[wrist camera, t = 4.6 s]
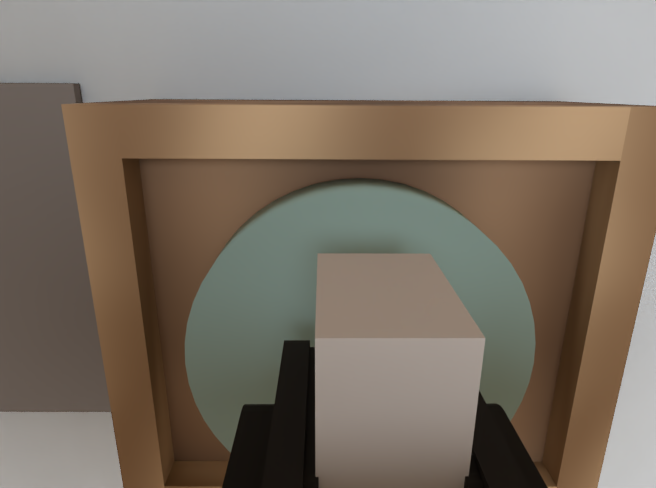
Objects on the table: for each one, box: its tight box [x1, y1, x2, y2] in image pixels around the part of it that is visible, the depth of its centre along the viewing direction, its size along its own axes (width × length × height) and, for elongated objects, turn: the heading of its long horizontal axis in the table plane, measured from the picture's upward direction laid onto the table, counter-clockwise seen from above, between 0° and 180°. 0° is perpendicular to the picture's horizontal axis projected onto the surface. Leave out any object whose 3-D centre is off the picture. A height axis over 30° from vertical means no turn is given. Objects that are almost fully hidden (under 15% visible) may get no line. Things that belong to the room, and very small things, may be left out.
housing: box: [61, 99, 656, 488], centre depth 15 cm, size 14×12×6 cm
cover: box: [185, 178, 536, 488], centre depth 10 cm, size 8×8×7 cm
